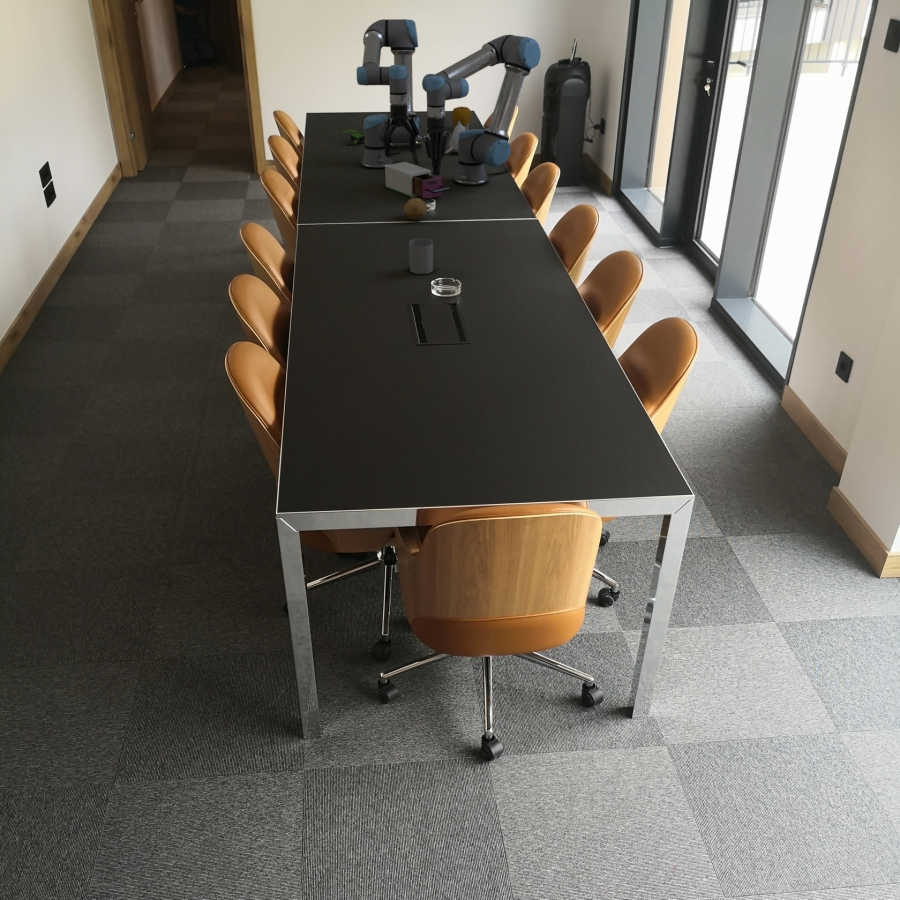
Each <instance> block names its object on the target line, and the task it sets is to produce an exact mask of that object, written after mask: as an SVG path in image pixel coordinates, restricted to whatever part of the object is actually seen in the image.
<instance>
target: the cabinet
mask: <svg viewBox="0 0 900 900" xmlns="http://www.w3.org/2000/svg"><path fill="white" fill-rule="evenodd" d="M384 172H385V189H387V190H390V191H392V192H395V193H398V194H400V195H403V196H405V197H408V198H417V197H420V196H419V195H416V194H413V182H412V177H413V176H418V175H423V174H429V175H432V170H431V169H428V168H425V167H422V166H419V165H416V164H413V163H410V162H407V161H402V162H397V163H393V164H392V165H387V166H385V168H384Z"/></svg>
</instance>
